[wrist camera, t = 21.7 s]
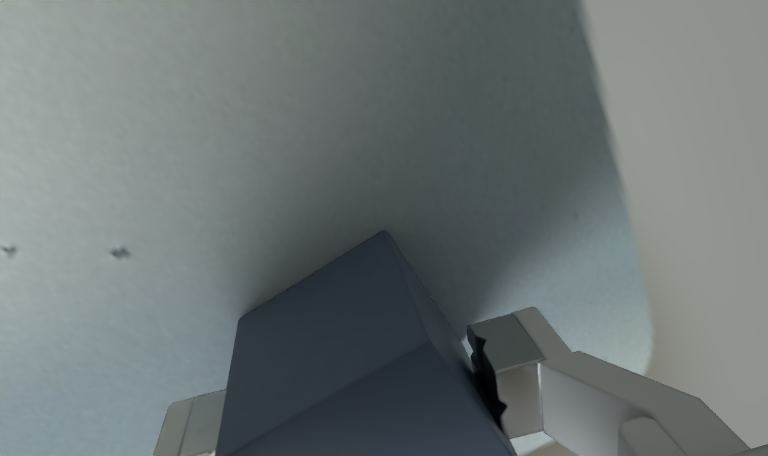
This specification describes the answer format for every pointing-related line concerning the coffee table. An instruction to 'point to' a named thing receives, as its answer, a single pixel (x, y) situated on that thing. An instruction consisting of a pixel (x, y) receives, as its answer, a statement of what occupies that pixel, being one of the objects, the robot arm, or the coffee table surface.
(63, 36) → the coffee table surface
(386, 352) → the block
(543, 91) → the coffee table surface
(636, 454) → the robot arm
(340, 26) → the coffee table surface
